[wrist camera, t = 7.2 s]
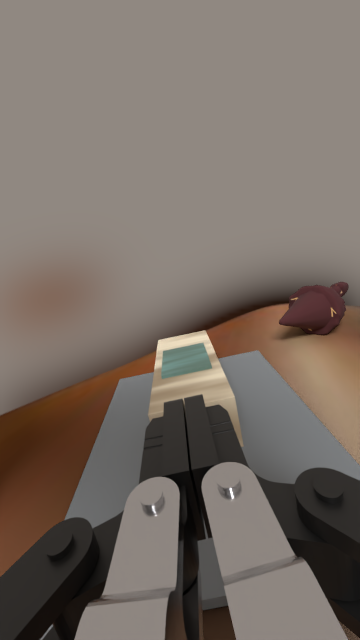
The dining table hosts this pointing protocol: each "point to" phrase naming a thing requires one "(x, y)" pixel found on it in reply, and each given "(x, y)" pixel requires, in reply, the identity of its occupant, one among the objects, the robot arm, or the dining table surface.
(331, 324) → the maroon rounded piece
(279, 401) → the mat
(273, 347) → the dining table surface
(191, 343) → the birch block
